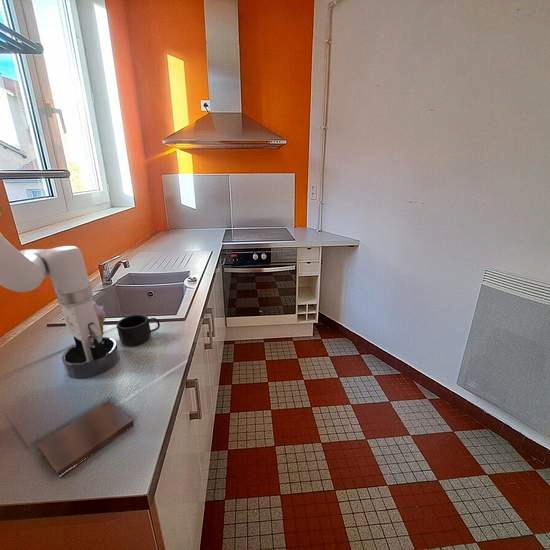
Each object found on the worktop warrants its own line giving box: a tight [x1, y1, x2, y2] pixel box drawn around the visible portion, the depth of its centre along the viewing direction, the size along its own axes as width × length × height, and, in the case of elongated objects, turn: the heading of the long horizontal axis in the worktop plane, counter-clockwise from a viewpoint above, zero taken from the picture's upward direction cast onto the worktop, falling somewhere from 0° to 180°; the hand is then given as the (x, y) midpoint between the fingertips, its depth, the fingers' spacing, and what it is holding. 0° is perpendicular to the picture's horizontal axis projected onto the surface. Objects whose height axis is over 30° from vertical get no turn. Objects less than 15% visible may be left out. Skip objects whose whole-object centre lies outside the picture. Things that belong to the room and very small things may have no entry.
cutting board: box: [36, 400, 135, 476], centre depth 61 cm, size 14×10×2 cm
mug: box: [116, 314, 161, 347], centre depth 95 cm, size 12×9×7 cm
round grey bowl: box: [61, 336, 120, 380], centre depth 83 cm, size 13×13×5 cm
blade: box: [82, 338, 107, 362], centre depth 82 cm, size 8×3×8 cm, turn 144°
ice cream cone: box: [89, 299, 107, 338], centre depth 91 cm, size 7×6×15 cm
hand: (91, 351), depth 83 cm, fingers open, 9 cm apart
